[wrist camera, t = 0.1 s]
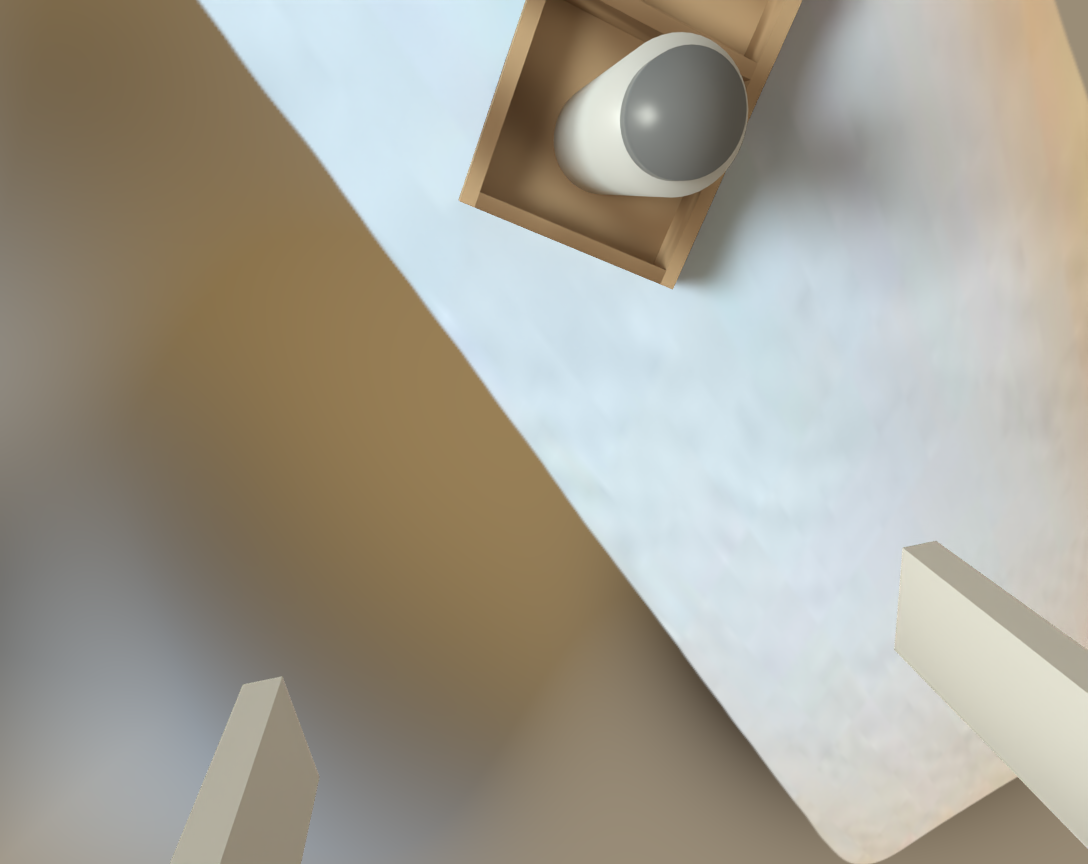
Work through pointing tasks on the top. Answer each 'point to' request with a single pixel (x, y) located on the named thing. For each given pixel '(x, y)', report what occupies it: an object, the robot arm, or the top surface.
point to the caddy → (566, 67)
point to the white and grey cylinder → (655, 121)
